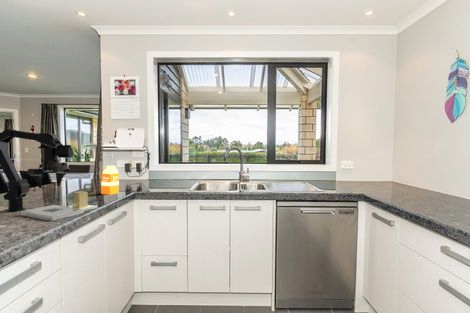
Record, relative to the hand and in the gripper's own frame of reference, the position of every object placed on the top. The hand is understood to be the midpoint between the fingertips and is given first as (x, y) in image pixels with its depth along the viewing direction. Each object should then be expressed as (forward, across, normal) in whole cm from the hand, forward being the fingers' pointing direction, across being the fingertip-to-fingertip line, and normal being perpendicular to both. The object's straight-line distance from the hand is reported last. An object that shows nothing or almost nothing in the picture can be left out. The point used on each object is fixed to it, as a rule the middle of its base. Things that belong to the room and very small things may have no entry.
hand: (49, 187), depth 138 cm
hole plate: (+12, -5, -10) cm, 16 cm away
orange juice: (+12, +52, +13) cm, 55 cm away
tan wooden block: (+11, +9, -11) cm, 18 cm away
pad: (+12, +9, -11) cm, 19 cm away
